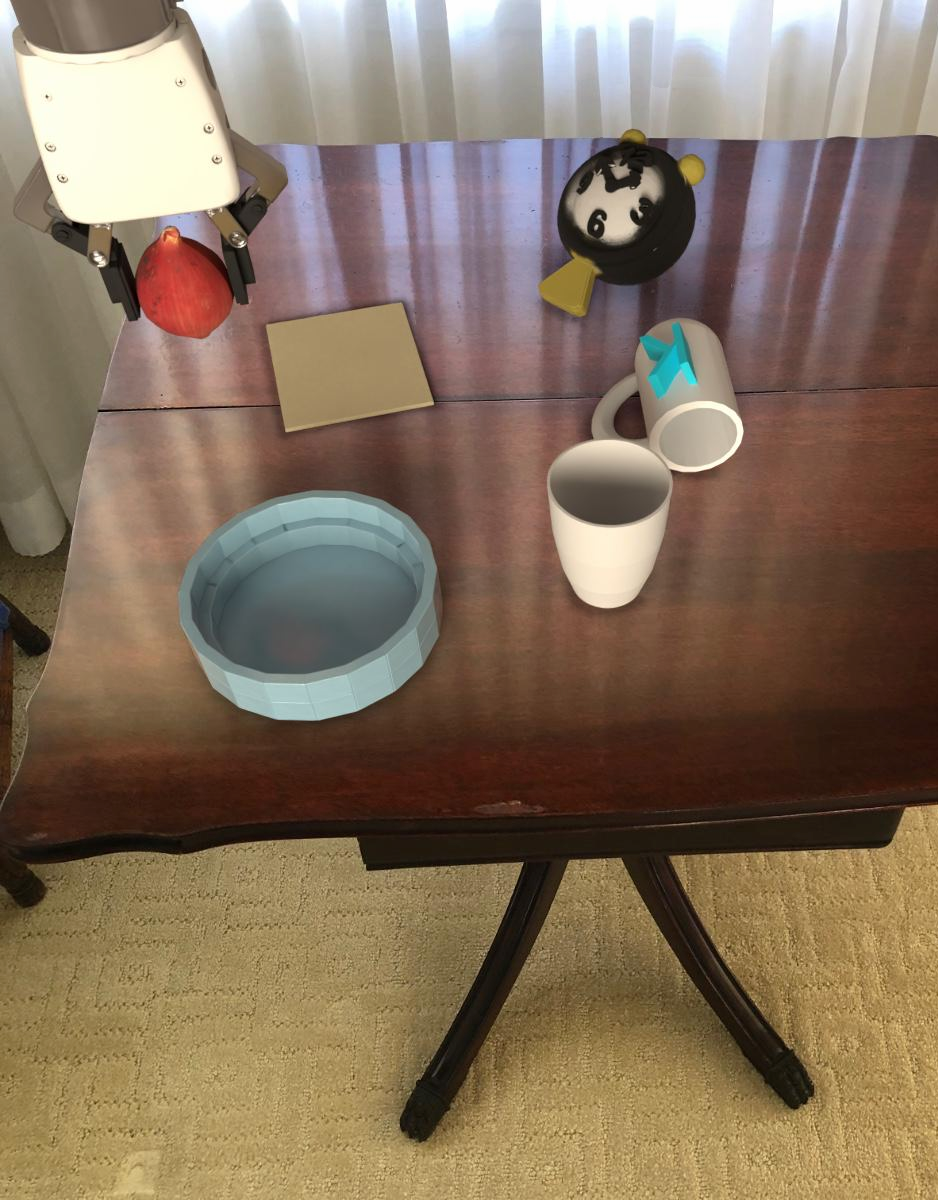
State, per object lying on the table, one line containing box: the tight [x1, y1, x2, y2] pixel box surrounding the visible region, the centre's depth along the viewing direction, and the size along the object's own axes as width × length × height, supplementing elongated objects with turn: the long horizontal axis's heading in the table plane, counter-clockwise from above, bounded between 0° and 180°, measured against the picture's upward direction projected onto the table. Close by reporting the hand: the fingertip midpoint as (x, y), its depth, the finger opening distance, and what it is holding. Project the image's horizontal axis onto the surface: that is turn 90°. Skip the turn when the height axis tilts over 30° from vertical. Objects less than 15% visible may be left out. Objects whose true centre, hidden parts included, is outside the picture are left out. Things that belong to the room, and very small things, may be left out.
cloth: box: [265, 301, 435, 433], centre depth 93 cm, size 12×14×1 cm
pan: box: [177, 489, 444, 722], centre depth 74 cm, size 17×17×4 cm
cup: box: [546, 438, 674, 609], centre depth 75 cm, size 8×8×10 cm
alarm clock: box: [537, 128, 707, 317], centre depth 98 cm, size 12×15×15 cm
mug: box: [591, 317, 744, 473], centre depth 86 cm, size 12×9×12 cm
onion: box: [134, 225, 235, 340], centre depth 69 cm, size 6×6×8 cm
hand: (188, 298), depth 70 cm, fingers closed on onion, 6 cm apart
